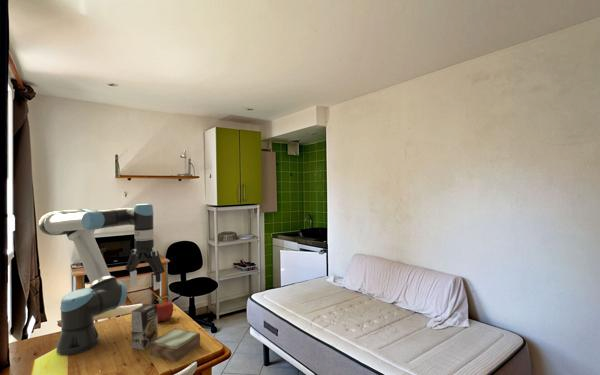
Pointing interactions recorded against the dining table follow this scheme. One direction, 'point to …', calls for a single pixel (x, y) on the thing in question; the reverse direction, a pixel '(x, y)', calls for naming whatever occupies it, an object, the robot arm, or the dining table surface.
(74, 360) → the dining table surface
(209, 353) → the dining table surface
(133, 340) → the coffee box
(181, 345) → the brown and green tray
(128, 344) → the dining table surface
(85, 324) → the robot arm
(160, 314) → the vegetable
